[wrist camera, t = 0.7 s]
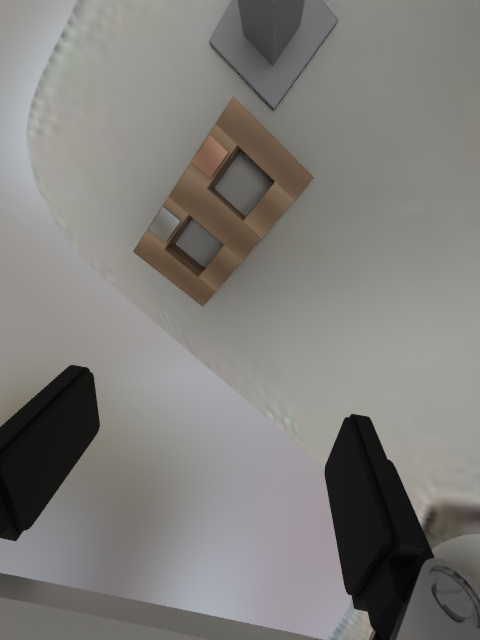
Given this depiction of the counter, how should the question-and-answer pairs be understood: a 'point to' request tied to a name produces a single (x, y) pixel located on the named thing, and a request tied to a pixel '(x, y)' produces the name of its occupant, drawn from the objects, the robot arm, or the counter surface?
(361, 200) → the counter surface
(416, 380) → the counter surface
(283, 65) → the mat
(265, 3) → the plug
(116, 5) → the counter surface
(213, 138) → the socket board
